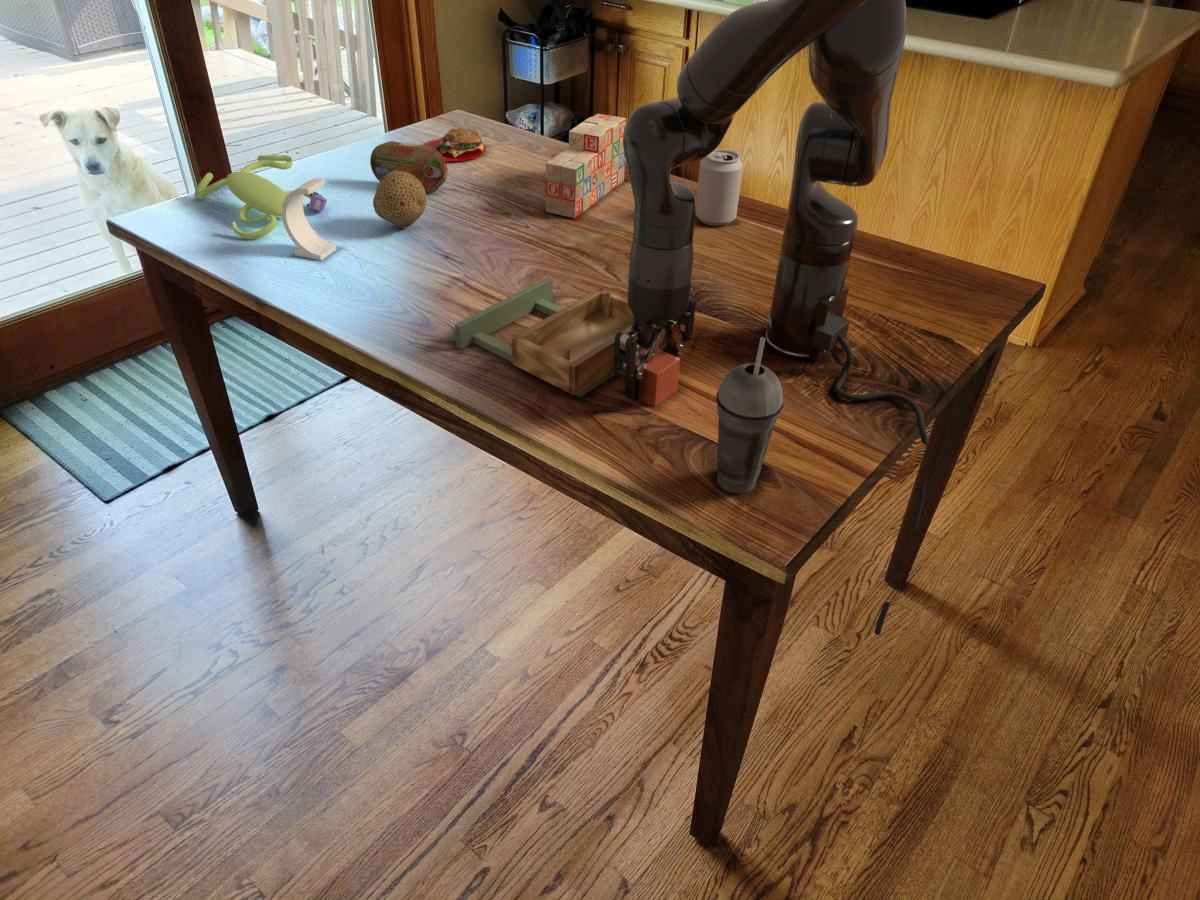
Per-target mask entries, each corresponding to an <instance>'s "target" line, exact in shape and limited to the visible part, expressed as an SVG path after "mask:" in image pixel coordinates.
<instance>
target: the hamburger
mask: <svg viewBox="0 0 1200 900" xmlns="http://www.w3.org/2000/svg"><path fill="white" fill-rule="evenodd" d="M422 145H426V146H431V147H433V148H435V149H436V150H438V151H439V152H440V153H441V154H442V156H443V157H444V159H445V161H446V162H461V161H467V160H468V161H469V160H473V159H477V158H478V157H481V156H482V155H484V154H485V153H486V152H487V146H486V145H485V144H484V142H482V137H481V136H480V134H479V133H478V131H476V130H473V129H471V128H466V127H465V128H464V127H463V128H462V127H461V128H454V127H453V128H451V129H449V130H448V131H447V132H446V133H445V134H444V136H442V137H440V138H437V139H432V140H429V141H426V142H425V143H423V144H422Z"/></svg>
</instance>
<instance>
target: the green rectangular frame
mask: <svg viewBox="0 0 1200 900" xmlns="http://www.w3.org/2000/svg"><path fill="white" fill-rule="evenodd" d="M552 301H554V280H553V278H552V277H550V276H547V277H545V278H543V279H542V280H538V281H537V282H535V283H533V284H531V285H530V286H527V287H526V288H523V289H522V290H520V291H518V292H516V293H513V294H512V295H510V296H508V297H506V298H504V299H503V300H502V299H501V300H500V301H498V302H496V303H495V304H493V305H490V306H489V307H486V308H485V309H483V310H481V311H479V312H477V313H474V314H473V315H471V316H469V317H467V318H465V319H463V320H460V321H459V322H457V323H455V324H454V333H455V335H454V336H455V344H456V345H455V346H456V348H457V349H460V350H463V349H464V348H467V347H468V346H471V345H473V344H475V345H477V346H479V347H480V348H482V349H484V350H486V351H488V352H490V353H492V354H494V355H496V356H498V357H500V358H502V359H503V360H506V361H509V362H510V363H512V345H511V346H510V345H508V344H507V343H505V342H503V341H501V340H498V339H496V338H494V337H492V336H490V335H491V334H493V333H494V332H496V331H498V330H500V329H502V328H504V327H506V326H508V325H510V324H511V323H513V322H515V321H517V320H519V319H521V318H522V317H524V316H526V315H528V314H530V313H532V312H533V311H535V310H536V311H539V312H541V313H543V314H545V315H547V316H551V315H553V314H555V313H556V312H558V311H560V310H562V309H564V308H565V307H562V306H560V305H559V304H555V303H554V302H552ZM622 366H624V363H623V365H622ZM613 371H614V370H612V371H611V372H609V373H608V374H606V375H605V376H603V377H602V378H600V379H599V380H597V381H596V382H594V383H593V384H591V385H590V386H588V387H586V388H585V389H583V390H582V391H580V392H579V393H577V394H576V395H575V396H577V397H580V398H582V397H584V396H585V395H587V394H588V393H589V392H591V391H592V390H594V389H596V388H597V387H598V386H600V385H602V384H603V383H605V382H606V381H608V380H609V379H610V378H612V377H614V376H615V375H616V374H614V372H613Z"/></svg>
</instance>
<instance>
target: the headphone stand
mask: <svg viewBox="0 0 1200 900" xmlns="http://www.w3.org/2000/svg"><path fill="white" fill-rule="evenodd" d="M325 185H326V181H325V178H313V179H311V180H308V181H307V182H305V183H304V184H302V185H300V186H299V187H297V188H295V189H294V190H291V191H292V192H290V193H289V194H288V195H287V196H286V197H285V199H284V201H283V204H282V216H281V220H282V223H283V227H284V229H285V231H286V233H287V235H288V237H289V238H290V240H291V241H292V242H293V243H294V245H295V246H296V247H297V248H295V249H294V255H295V256H297V257H302V258H307V259H312V260H317V261H322V260H324V259H325V258H327V257H328V256H329V255H331V254H332V253H334V252H335V251H336V250H338V249H337V244H336V243H333V242H330V241H327V240H326V239H324V238H322V237H321V236H320V235H319V234H318V233H317V232H316V231H315V230H314V229H313V227H312V225H310V223H309V221H308V220H307V217H306V215H305V211H304V197H305V196H304V195H305V194H310V193H313V192H316V191H317V190H318V189H320V188H321V187H323V186H325Z"/></svg>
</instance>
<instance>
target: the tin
mask: <svg viewBox="0 0 1200 900" xmlns="http://www.w3.org/2000/svg"><path fill="white" fill-rule="evenodd" d="M369 162H370V169H371V171H372V173H373V175H374V177H375V179H376V180H377V181H378V182H379V183H380V181H381V180H382V179H383V177H384V176H386V175H387V174H388V173H390V172H393V171H403V172H408V173H410V174H412V175H413V176H415V177H416V178H417V179H418V180H419V181H420V182H421V184H422V186H423V187H424V189H425V192H426V194H431V193H434V192H436V191H438V189H440V188H441V187H442V186H443V185H444V184H445V182H446V181H447V178H448V166H447V165H448V164H447V161H445V159H444V157H443V156H442V154H441V153H440V152H439V151H438V150H436V149H435V148H433V147H431V146H426V145H423V144H416V143H409V142H401V141H393V140H391V141H385V142H383V143H380V144H378V145H376V146H375V147H374V148H373V150H372V151H371V154H370V160H369Z"/></svg>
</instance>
